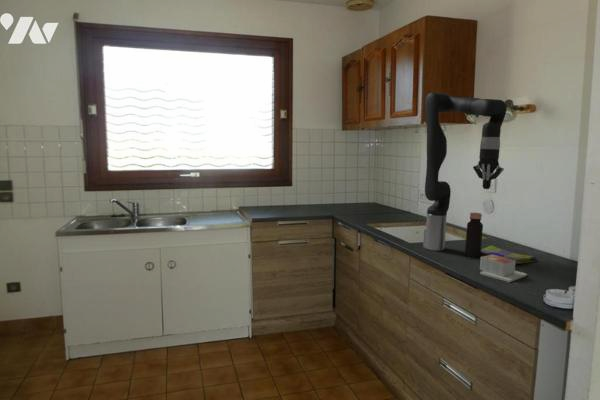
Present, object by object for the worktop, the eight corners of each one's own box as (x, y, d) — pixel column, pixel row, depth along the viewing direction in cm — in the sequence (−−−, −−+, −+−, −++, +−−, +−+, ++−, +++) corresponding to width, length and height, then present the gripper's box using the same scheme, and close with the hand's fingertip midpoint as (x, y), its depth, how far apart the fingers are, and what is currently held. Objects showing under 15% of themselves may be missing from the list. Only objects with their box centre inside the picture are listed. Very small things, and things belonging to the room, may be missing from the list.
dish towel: (491, 249, 214) (492, 244, 214) (539, 262, 194) (540, 256, 193) (468, 253, 206) (468, 247, 205) (515, 267, 185) (516, 261, 184)
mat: (479, 274, 173) (480, 272, 173) (497, 268, 181) (498, 266, 181) (509, 282, 164) (509, 280, 164) (526, 275, 172) (527, 273, 172)
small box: (492, 254, 180) (516, 260, 171) (491, 267, 180) (515, 273, 172) (480, 256, 175) (504, 263, 167) (479, 269, 176) (503, 276, 167)
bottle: (462, 253, 204) (466, 212, 201) (477, 253, 203) (480, 212, 200) (467, 257, 197) (470, 214, 194) (482, 257, 197) (486, 215, 194)
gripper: (470, 147, 183) (467, 187, 186) (500, 148, 173) (496, 191, 175) (479, 147, 188) (476, 186, 190) (509, 148, 177) (506, 190, 180)
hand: (486, 188), depth 183 cm, fingers closed
